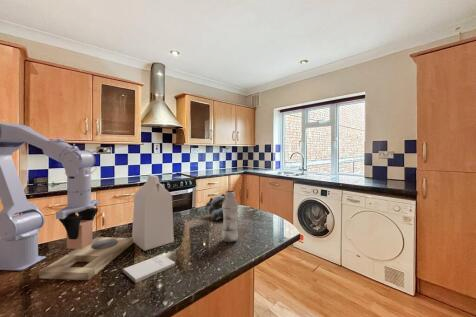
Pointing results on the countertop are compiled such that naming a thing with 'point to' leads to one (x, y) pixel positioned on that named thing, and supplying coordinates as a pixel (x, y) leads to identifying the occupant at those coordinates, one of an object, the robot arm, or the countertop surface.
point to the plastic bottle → (230, 217)
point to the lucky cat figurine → (216, 207)
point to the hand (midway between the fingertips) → (79, 235)
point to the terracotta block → (82, 236)
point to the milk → (152, 215)
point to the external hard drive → (148, 268)
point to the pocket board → (87, 259)
